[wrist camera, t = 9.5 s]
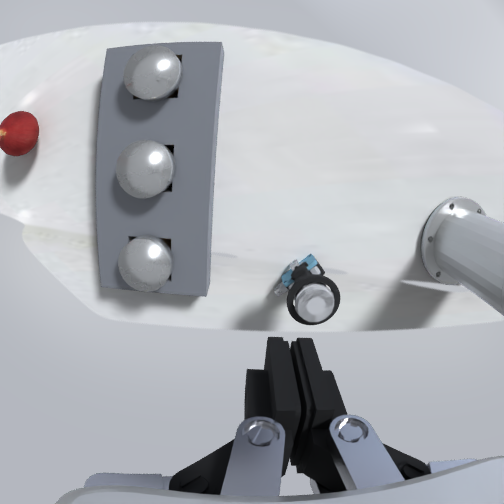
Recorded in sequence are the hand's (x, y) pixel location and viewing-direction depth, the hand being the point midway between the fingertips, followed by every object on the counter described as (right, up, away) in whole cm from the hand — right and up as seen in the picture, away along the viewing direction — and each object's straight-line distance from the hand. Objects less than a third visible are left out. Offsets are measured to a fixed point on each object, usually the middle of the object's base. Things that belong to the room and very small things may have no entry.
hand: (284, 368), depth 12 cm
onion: (-31, +20, +22) cm, 43 cm away
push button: (+4, +2, +28) cm, 28 cm away
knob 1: (-11, +24, +20) cm, 33 cm away
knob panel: (-12, +14, +24) cm, 30 cm away
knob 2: (-13, +5, +26) cm, 29 cm away
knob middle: (-12, +14, +23) cm, 30 cm away
